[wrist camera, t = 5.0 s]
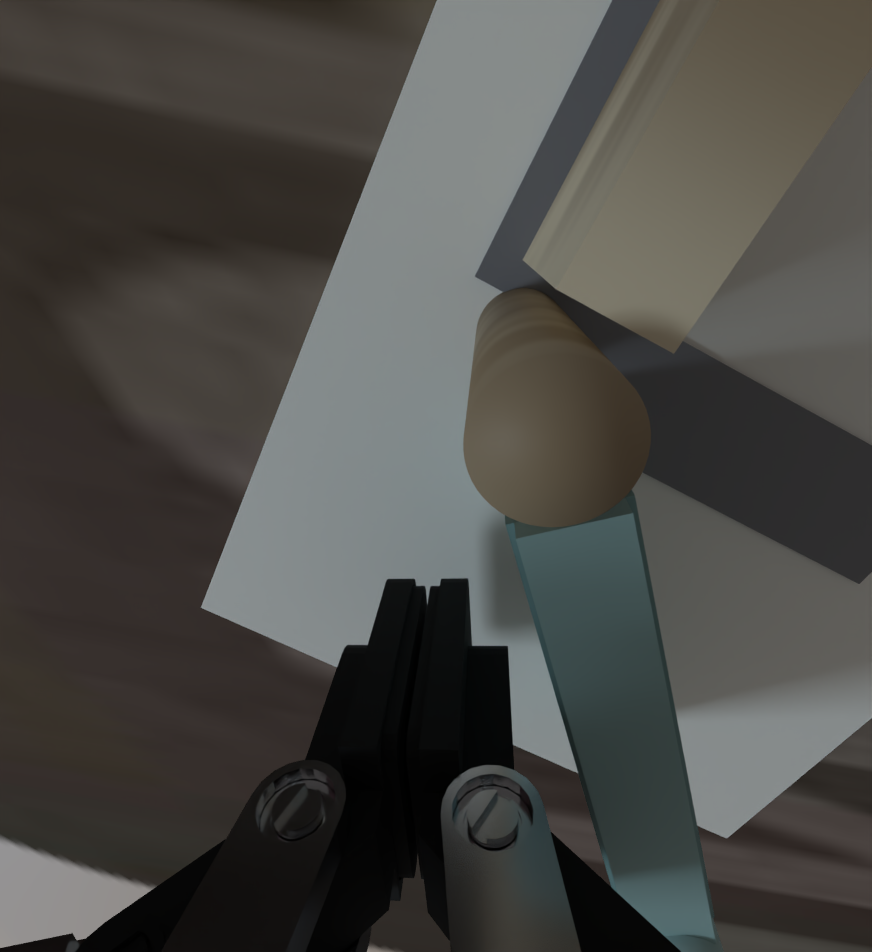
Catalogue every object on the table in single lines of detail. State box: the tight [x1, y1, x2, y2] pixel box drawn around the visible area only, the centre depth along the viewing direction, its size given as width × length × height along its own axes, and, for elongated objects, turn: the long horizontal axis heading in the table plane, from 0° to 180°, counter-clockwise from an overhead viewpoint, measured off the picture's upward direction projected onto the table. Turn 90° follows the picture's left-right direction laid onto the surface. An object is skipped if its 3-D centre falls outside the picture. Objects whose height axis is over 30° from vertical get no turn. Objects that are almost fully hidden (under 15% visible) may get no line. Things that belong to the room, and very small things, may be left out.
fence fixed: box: [463, 0, 872, 527], centre depth 6 cm, size 9×2×6 cm, turn 154°
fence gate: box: [505, 489, 724, 952], centre depth 9 cm, size 9×1×5 cm, turn 18°
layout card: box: [201, 0, 872, 838], centre depth 11 cm, size 17×15×1 cm
